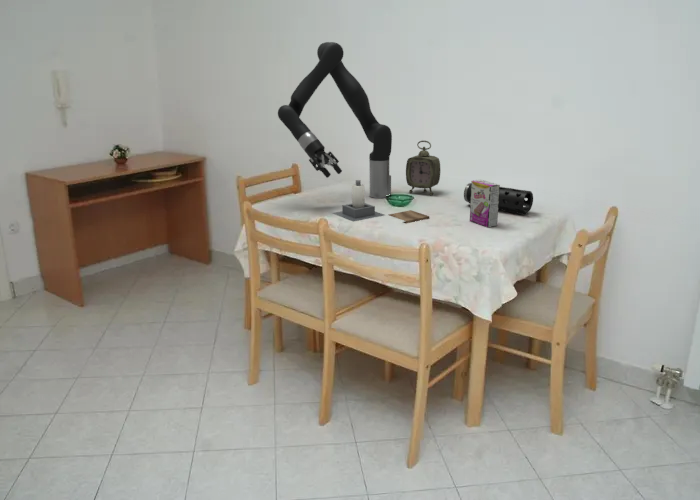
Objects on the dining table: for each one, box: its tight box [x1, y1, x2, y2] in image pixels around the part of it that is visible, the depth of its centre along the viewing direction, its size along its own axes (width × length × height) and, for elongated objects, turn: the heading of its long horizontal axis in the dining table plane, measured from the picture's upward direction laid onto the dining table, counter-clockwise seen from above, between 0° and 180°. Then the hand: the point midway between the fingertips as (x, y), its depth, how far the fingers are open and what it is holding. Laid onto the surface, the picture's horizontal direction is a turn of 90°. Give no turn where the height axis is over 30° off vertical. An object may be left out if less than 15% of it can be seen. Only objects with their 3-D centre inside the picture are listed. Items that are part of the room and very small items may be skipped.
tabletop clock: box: [405, 140, 441, 197], centre depth 277 cm, size 14×9×25 cm, turn 58°
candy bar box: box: [469, 179, 501, 228], centre depth 228 cm, size 11×5×16 cm, turn 29°
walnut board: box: [388, 210, 430, 224], centre depth 240 cm, size 12×12×1 cm
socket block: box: [332, 202, 385, 222], centre depth 243 cm, size 16×16×4 cm
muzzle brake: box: [463, 182, 534, 216], centre depth 248 cm, size 10×28×10 cm, turn 47°
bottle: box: [351, 179, 366, 209], centre depth 241 cm, size 5×5×14 cm
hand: (334, 174), depth 244 cm, fingers open, 8 cm apart
